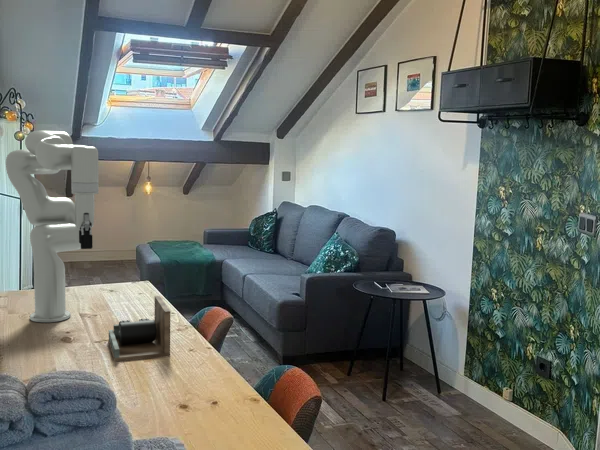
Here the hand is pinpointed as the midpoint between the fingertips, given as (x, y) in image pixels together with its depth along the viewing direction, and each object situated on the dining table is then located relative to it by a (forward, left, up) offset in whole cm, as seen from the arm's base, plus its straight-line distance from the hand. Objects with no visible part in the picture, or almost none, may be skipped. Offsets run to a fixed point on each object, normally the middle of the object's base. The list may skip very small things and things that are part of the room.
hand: (85, 245), depth 182 cm
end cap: (+12, +13, -28) cm, 33 cm away
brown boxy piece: (+14, +13, -28) cm, 34 cm away
